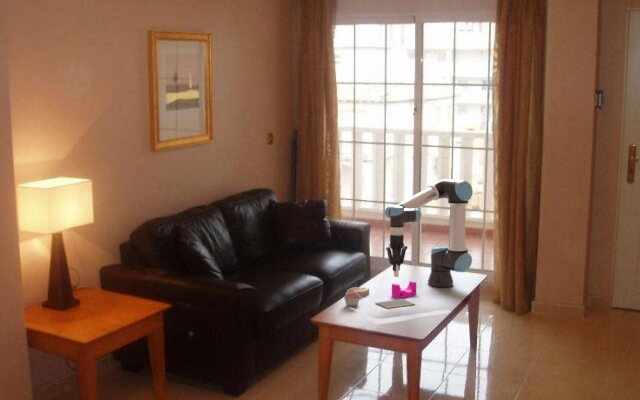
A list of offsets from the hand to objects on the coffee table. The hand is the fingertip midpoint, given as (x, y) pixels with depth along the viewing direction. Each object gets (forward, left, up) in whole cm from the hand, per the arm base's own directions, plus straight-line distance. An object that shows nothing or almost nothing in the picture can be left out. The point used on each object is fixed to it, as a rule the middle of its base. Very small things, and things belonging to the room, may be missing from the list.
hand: (396, 276), depth 432 cm
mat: (+3, +3, -15) cm, 15 cm away
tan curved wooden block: (+13, -27, -13) cm, 33 cm away
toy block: (-14, -11, -15) cm, 23 cm away
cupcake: (+25, -6, -15) cm, 29 cm away
